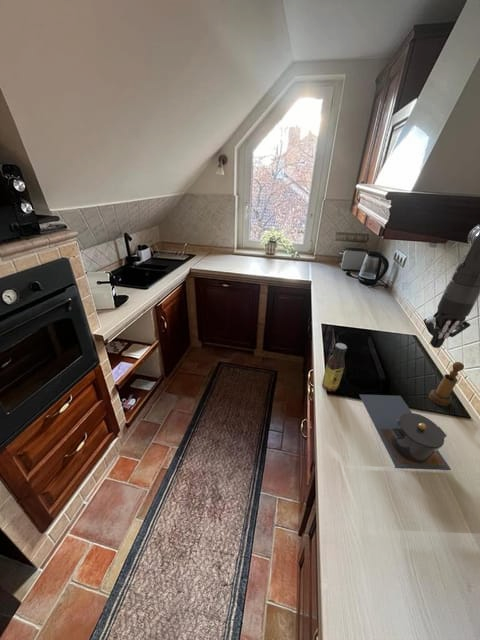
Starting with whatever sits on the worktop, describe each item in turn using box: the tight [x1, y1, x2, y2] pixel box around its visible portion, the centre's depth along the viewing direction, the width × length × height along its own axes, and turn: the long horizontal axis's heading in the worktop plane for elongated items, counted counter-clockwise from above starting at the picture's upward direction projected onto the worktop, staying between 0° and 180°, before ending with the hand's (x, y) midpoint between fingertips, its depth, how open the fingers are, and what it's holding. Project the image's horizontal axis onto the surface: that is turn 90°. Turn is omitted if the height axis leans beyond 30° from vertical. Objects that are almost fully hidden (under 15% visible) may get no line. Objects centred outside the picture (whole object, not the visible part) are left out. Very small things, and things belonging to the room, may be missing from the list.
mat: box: [358, 393, 452, 471], centre depth 85 cm, size 16×28×1 cm, turn 179°
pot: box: [391, 412, 447, 464], centre depth 77 cm, size 15×12×10 cm
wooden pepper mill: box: [428, 361, 465, 407], centre depth 92 cm, size 7×6×18 cm
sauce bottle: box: [321, 342, 348, 393], centre depth 96 cm, size 7×6×20 cm
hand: (434, 346), depth 81 cm, fingers closed
